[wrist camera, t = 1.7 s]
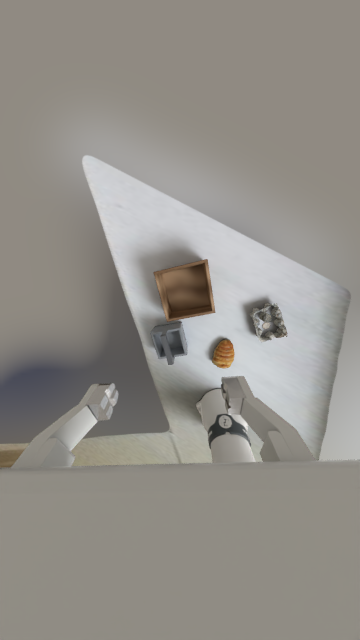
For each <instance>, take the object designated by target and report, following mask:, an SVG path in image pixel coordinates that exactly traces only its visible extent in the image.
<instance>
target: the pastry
mask: <svg viewBox="0 0 360 640" xmlns="http://www.w3.org/2000/svg"><path fill="white" fill-rule="evenodd" d="M233 360H234V349H233V344H232V343H231V341H230V340H222V341H221V342H220V343H219V344H218V346H217V347H216V348H215V351H214V354H213V359H212V363H214V364H215V365H216V366H217V367H219V368H228V367H230V366H231V363H232V362H233Z"/></svg>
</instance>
